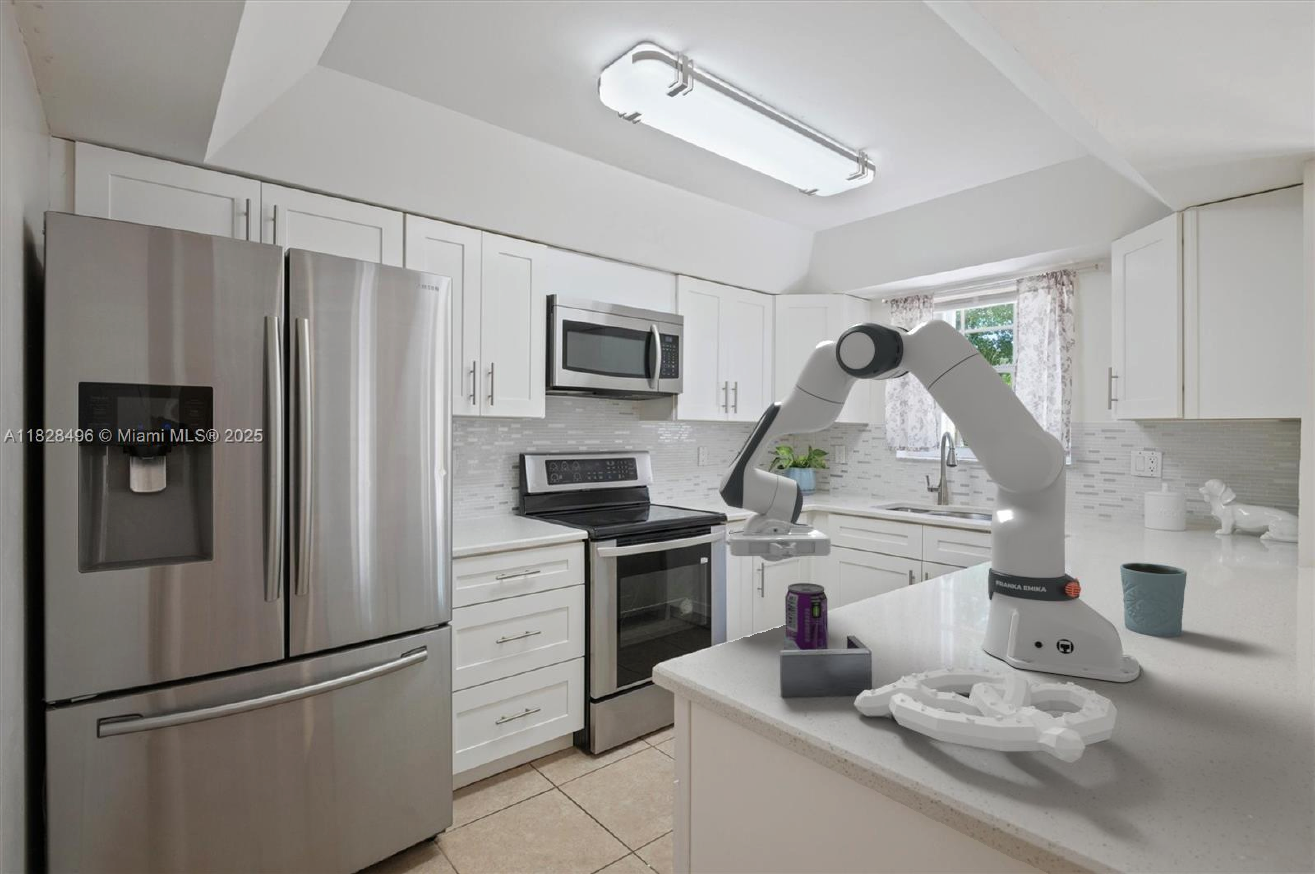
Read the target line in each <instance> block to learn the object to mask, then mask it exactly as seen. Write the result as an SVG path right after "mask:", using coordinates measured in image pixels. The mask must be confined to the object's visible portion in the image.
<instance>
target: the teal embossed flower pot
mask: <svg viewBox="0 0 1315 874" xmlns="http://www.w3.org/2000/svg"><path fill="white" fill-rule="evenodd" d="M1119 568H1120V569H1119V570H1120V579H1121V586H1122V595H1123V598H1122V600H1123V608H1124V611H1123V612H1124V617H1123V619H1124V626H1125V629H1127V630H1129V631H1132V632H1134V633H1138V634H1142V635H1146V636H1151V637H1152V636H1153V637H1158V638H1177V637H1179V636H1181V635H1182V629H1183V615H1184V614H1183V613H1184V610H1183V609H1184V602H1185V589H1186V584H1187V575H1188V573H1187V570H1185V569H1183V568H1181V567H1176V566H1171V565H1166V564H1158V563H1150V562H1126V563H1122V564H1120V566H1119Z"/></svg>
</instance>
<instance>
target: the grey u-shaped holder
mask: <svg viewBox="0 0 1315 874" xmlns="http://www.w3.org/2000/svg"><path fill="white" fill-rule="evenodd" d="M872 655H873V653H872V651H871V650H870V649H869V647H867V646H866V644H864V643H863V642H862V641H861V640H860V639H858V638H857V636H856V635H846V648H832V649H831V648H830V649H829V648H828V649H819V650H801V649H800V648H799V647H798V645H797V644H796V643H795V641H794V640H793V639H792V637H786V636H783V650H780V653H779V670H780V671H779V674H780V675H779V676H780V677H779V680H780V681H779V682H780V685H779V687H780V690H779V692H780V693H779V694H780V696H781V698H817V697H818V698H821V697H824V698H825V697H857V696H858V695H860V694H861V693H862V692H863V691H864V690H871V689H873V674H872V673H873V668H872V667H873V664H872V662H873V661H872V659H873V658H872Z"/></svg>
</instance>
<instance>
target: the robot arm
mask: <svg viewBox="0 0 1315 874" xmlns="http://www.w3.org/2000/svg"><path fill="white" fill-rule="evenodd" d="M908 373H911V374H912V375H913V376H914V377H916V379H917V380H918V381H919V382H920V383H921V384H922V386H923V387H924V388H925V390H926V391H927V393H928V394H929V395H930V396H931V397H932V399H933V400H934V401H935V402H936V403H937V405H938V407H940V408H941V410H942V411H943V413H944V414H945V415H946V416H947V418H948V419H949V420H950V421H951V423H952V424H953V425H954V427H955V428H956V429H957V431H958V432H959V434H960V436H961V438H963V440H964V443H966V445H967V447H968V448H969V450H970V451H971V452H972V453H973V455H974V457H975V458H976V460H977V461H978V462H979V464H980V465H981V467H982V468H983V469H984V471H985V472H986V473H987V475H988V476H989V478H990V479H991V480H992V481H993V483H994V492H993V501H992V502H993V505H992V512H991V513H992V514H991V521H990V541H991V542H990V551H991V554H990V558H991V566H990V568H989V569H988V574H987V595H988V599H989V600H990V601H989V603H990V604H989V613H988V618H987V625H986V630H985V633H984V637H983V639H982V640H983V641H982V643H981V648H982V649H983V650H984V651H985V652H986V653H987V654H990V655H991V656H994V657H996V658H998V659H1001V660H1003V661H1005V662H1006V663H1007V664H1009V665H1010V666H1012V667H1014V668H1017V669H1022V670H1029V671H1037V672H1044V673H1051V674H1052V673H1053V674H1058V675H1067V676H1073V677H1080V678H1081V677H1082V678H1087V679H1095V680H1103V681H1110V682H1117V683H1126V682H1131V681H1133V680H1136V679H1137V678H1138V677H1139V675H1140V671H1141V670H1140V662H1139V661H1138V659H1137V658H1136V657H1135V656H1133V655H1132V654H1130V653H1128V652H1126V651H1123V645H1122V640H1121V637H1120V633H1119V632H1118V630H1117V628H1116V626H1115V625H1114V624H1113V623H1112V622H1111V621H1110V620H1109V619H1108V618H1106V617H1105V616H1104V615H1102V614H1101V613H1099V612H1098V611H1097V610H1096V609H1094V608H1093V607H1091V606H1090V605H1089V604H1087V602H1085V601H1083V600H1082V599H1081V598H1080V596H1081V595H1080V594H1081V591H1082V587H1081V586H1080V584H1081V583H1080V581H1079V579H1078V578H1077V577H1075V578H1074V577H1073V576H1071V575H1070V574H1068V573H1066V565H1065V564H1066V551H1065V550H1066V544H1065V543H1066V537H1065V535H1066V534H1065V533H1066V532H1065V530H1066V529H1065V528H1066V527H1065V526H1066V524H1065V522H1066V489H1067V488H1066V486H1067V484H1066V483H1067V482H1066V481H1067V454H1066V450H1065V448H1064V446H1063V444H1062V442H1061V441H1060V440H1059V438H1057V437H1056V436H1055V435H1054V434H1052V433H1050V432H1049V431H1046V430H1045V429H1044V428H1043V427H1042V426H1041V424H1040V423H1039V422H1038V421H1037V419H1036V418H1035V417H1034V416H1033V415H1032V413H1031V412H1030V411H1029V410H1028V409H1027V407H1026V406H1025V405H1024V403H1023V402H1022V401H1021V399H1020V398H1019V397H1018V396H1017V395H1016V392H1015V391H1014V390H1013V389H1012V387H1010V385H1009V384H1008V383H1007V382H1006V380H1004V378H1003V377H1002V376H1001V375H1000V374H999V373H998V371H997V370H996V369H995V368H994V367H993V366H992V364H991V363H990V362H989V361H988V359H986V357H985V356H984V355H983V354H982V353H981V352H980V351H979V350H978V348H977V347H976V346H975V345H974V344H973V343H972V342H971V341H970V340H969V339H968V338H967V337H966V336H965V335H963V334H962V332H960V331H959V330H958V329H956V328H955V327H954V326H952V325H951V324H949V323H948V322H947V321H946V320H942V319H938V318H937V319H930V320H927V321H923V322H921V323H919V324H918V325H917V326H915V327H914V328H912V329H911V330H910V331H909V330H908V329H906V328H905V327H901V326H898V325H897V326H895V325H892V324H889V323H884V322H860V323H857V324H855V325H852V326H851V327H849V328H847V329H846V330H845V331H844V332H842V333H841V335H840V337H839V338H838V340H824V341H821V342H819V343H818V344H817V345H815V347H813V350H812V351H811V352H810V354H809V356H808V357H807V359H806V361H805V362H804V364H803V366H802V369H801V370H800V373H799V375H798V376H797V380H796V381H795V384H794V386H793V388H792V389H791V391H790V392H789V393H788V394H787V396H785V397H784V398H783V399H781V400H780V401H775V402H772V403H771V404H770V405H769V406H768V408H766V410H765V411H764V413H763V414H762V416H761V417H760V419H758V422H757V423H756V424H755V426H754V427H753V430H752V431H751V432H750V434H749V436H748V438H747V439H746V441H745V442H744V444H743V446H742V447H741V448H740V451H739V452H738V453H737V456H736V457H735V458H734V460H733V461H732V462H731V464H730V465H729V467H727V469H726V470H725V472H724V474H722V477H721V480H720V483H719V490H718V491H719V492H718V493H719V495H720V497H721V498H722V500H723V501H724V503H725V505H727V507H731V508H737V509H741V510H742V509H743V510H746V511H749V512H753V513H752V514H750V515H749V516H748V517H747V518H746V519H745V521H744V524H743V533H741V532H738V533H732V534H730V536H729V537H730V538H726V539H725V540H724V542H725V544H726V545H728V546H729V551H730V555H732V556H733V557H734V556H735V557H760V558H761V559H763V560H765V561H768V562H780V561H782V560H787V559H791V558H798V557H817V556H819V557H820V556H821V557H828V556H830V555H831V549H832V548H831V547H832V546H831V545H832V544H831V538H830V536H829V535H827V534H825V533H824V532H822V531H820V530H817V529H815V528H814V525H811V524H806V523H797V522H798V520H799V518H800V516H801V512H802V509H803V506H804V494H803V492H802V488H801V486H800V484H799V483H798V482H797V480H796V479H792V478H789V477H786V476H783V475H779V474H775V473H772V472H769V471H766V470H762V469H759V468H756V464H757V462H758V461H759V460H760V458H761V457H762V455H763V453H764V452H765V450H766V448H767V447H768V445H769V444H770V443H771V441H773V440H774V439H775V438H778V437H780V436H781V437H782V436H783V435H790V434H791V435H792V434H808V433H809V434H810V433H816V432H820V431H823V430H825V429H827V428H830V426H832V425H833V424H834V423H835V422H836V420H837V419H838V418H839V416H840V414H841V412H842V410H843V408H844V406H845V403H846V401H847V399H848V396H849V393H850V391H851V390H852V388H853V386H854V385H855V383H856V382H857V381H858V380H861V379H862V380H875V381H885V380H890V379H892V380H893V379H898V378H901V377H903V376H905V375H907V374H908Z"/></svg>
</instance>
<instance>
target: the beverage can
mask: <svg viewBox="0 0 1315 874" xmlns="http://www.w3.org/2000/svg"><path fill="white" fill-rule="evenodd" d="M784 598H785V602H784V603H785V637H792V639H793V640H794V641H795V643H796V644H797V645H798V647H799V648H800V649H801V650H819V649H829V629H828V627H829V623H828V618H829V617H828V614H829V613H828V597H827V595H826V593H825V586H823V585H820V584H817V583H809V582H797V583H792V584H788V585H787V592H786V594H785V597H784Z"/></svg>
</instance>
